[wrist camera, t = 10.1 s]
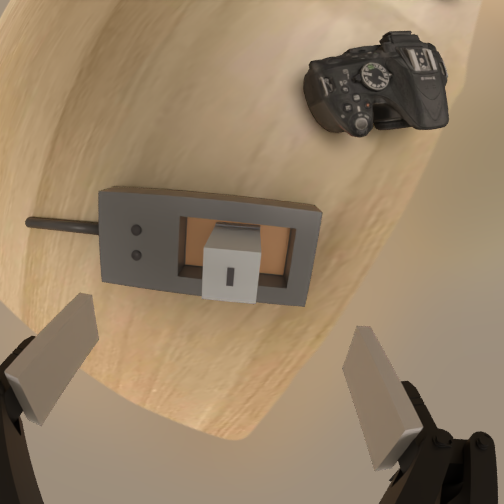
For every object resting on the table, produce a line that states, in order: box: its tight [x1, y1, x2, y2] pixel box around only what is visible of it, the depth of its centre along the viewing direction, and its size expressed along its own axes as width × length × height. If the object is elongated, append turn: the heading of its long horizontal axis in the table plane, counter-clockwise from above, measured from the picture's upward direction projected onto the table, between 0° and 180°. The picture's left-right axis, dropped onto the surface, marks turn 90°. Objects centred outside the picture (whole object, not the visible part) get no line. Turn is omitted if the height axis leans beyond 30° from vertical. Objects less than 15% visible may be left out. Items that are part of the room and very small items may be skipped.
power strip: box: [25, 186, 322, 307], centre depth 28 cm, size 33×9×4 cm, turn 84°
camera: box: [304, 31, 449, 137], centre depth 20 cm, size 13×10×10 cm
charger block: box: [202, 222, 261, 304], centre depth 25 cm, size 4×4×8 cm
